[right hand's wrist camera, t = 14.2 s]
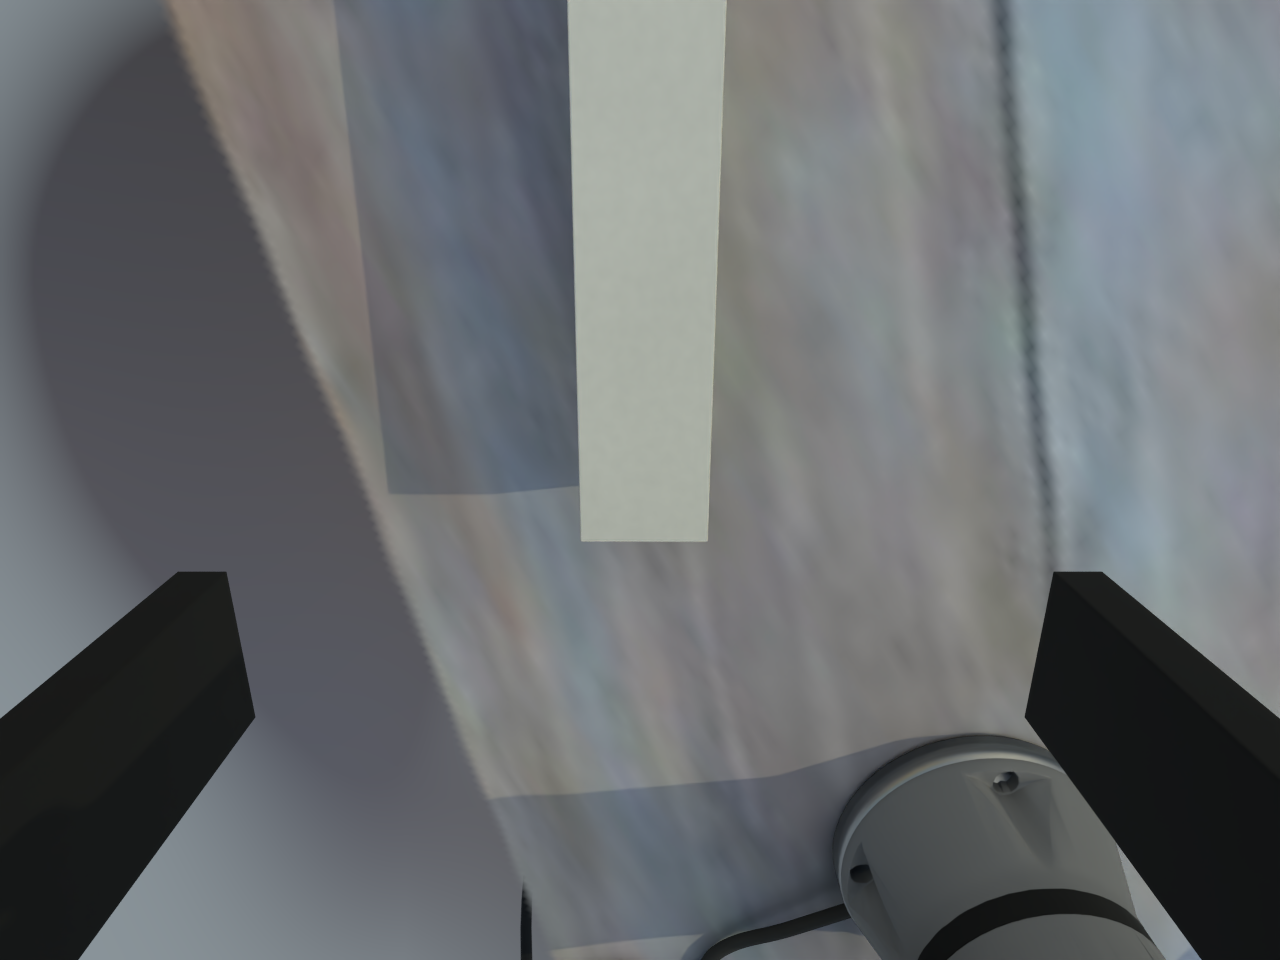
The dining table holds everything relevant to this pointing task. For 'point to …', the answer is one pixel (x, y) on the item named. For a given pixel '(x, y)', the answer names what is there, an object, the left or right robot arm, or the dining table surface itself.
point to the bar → (645, 260)
